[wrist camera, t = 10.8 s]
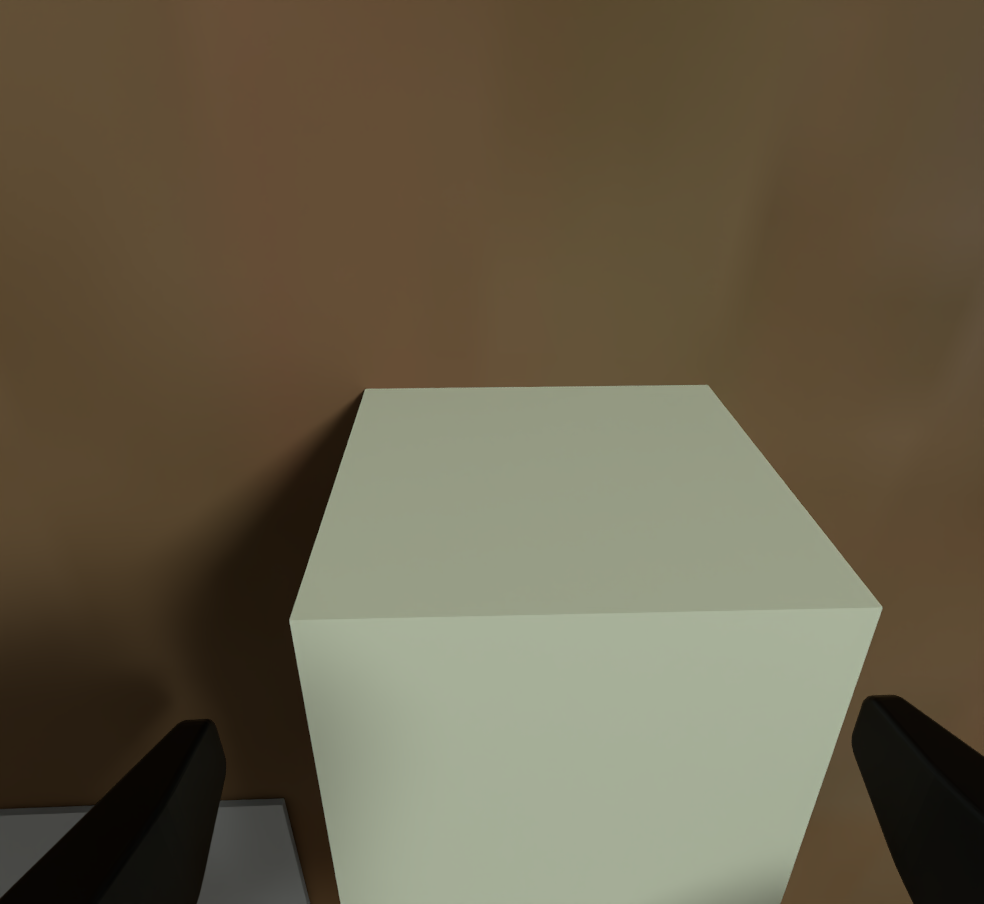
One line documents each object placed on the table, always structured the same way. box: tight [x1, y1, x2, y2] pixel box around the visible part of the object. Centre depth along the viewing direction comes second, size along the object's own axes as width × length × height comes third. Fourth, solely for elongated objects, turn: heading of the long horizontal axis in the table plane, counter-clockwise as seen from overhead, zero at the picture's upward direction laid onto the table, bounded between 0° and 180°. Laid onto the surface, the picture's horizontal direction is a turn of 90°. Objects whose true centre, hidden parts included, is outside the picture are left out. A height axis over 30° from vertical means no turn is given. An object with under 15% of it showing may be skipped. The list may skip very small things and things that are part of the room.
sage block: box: [289, 385, 883, 904], centre depth 10 cm, size 5×8×5 cm, turn 0°
